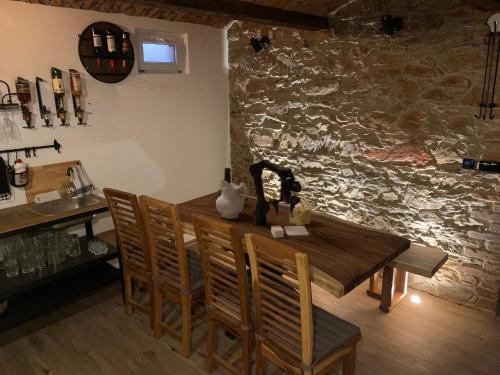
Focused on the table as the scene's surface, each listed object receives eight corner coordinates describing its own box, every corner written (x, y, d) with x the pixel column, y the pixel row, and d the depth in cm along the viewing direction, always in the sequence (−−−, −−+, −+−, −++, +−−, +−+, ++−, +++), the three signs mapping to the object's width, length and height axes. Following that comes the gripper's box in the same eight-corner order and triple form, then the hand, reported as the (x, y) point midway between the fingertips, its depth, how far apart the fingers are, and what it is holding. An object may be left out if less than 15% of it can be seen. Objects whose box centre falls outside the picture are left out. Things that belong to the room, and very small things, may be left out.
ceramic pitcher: (248, 214, 277) (249, 179, 273) (245, 221, 258) (246, 184, 254) (218, 212, 279) (218, 178, 275) (213, 220, 260) (213, 183, 256)
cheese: (300, 226, 251) (300, 212, 248) (288, 222, 259) (288, 207, 257) (311, 223, 258) (311, 208, 255) (299, 219, 266) (299, 204, 263)
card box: (283, 237, 234) (283, 230, 233) (274, 238, 233) (274, 230, 232) (279, 232, 242) (280, 225, 241) (271, 232, 241) (271, 225, 240)
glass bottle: (217, 209, 284) (217, 171, 276) (213, 202, 300) (213, 166, 293) (241, 207, 288) (242, 170, 281) (236, 200, 305) (236, 165, 298)
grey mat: (287, 235, 236) (287, 234, 236) (283, 227, 249) (283, 226, 249) (309, 235, 237) (309, 234, 237) (303, 226, 251) (303, 226, 251)
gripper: (276, 194, 224) (275, 219, 228) (305, 191, 231) (304, 216, 235) (268, 189, 234) (268, 214, 238) (296, 186, 241) (295, 210, 245)
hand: (284, 214), depth 239 cm, fingers open, 9 cm apart
